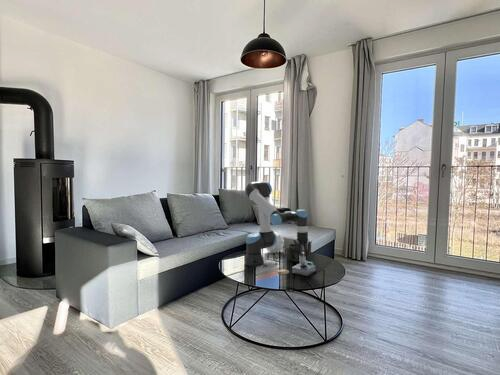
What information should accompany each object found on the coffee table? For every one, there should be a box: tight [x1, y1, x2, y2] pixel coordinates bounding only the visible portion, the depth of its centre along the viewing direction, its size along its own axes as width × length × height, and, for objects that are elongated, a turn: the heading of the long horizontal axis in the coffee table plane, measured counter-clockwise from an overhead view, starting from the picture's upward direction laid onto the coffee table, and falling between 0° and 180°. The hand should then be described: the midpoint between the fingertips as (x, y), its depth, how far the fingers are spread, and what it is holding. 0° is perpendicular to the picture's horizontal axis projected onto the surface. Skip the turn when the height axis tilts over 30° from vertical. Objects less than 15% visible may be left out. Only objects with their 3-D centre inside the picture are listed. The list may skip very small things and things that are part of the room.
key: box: [300, 251, 306, 268], centre depth 206 cm, size 3×6×13 cm, turn 141°
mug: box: [284, 243, 303, 262], centre depth 235 cm, size 11×15×12 cm
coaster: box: [277, 269, 290, 275], centre depth 207 cm, size 8×8×1 cm
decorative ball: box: [265, 230, 285, 254], centre depth 258 cm, size 20×17×20 cm
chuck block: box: [291, 260, 316, 277], centre depth 207 cm, size 12×15×5 cm
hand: (303, 264), depth 206 cm, fingers closed on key, 3 cm apart
